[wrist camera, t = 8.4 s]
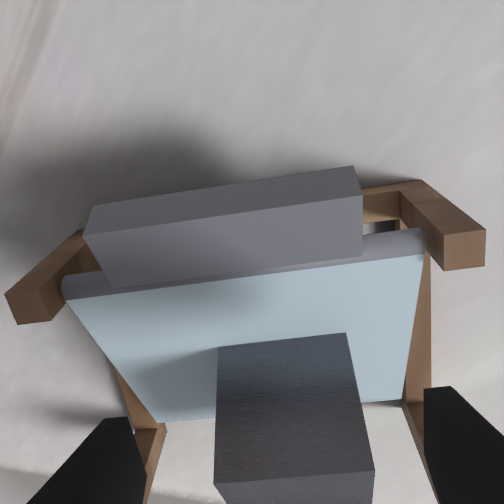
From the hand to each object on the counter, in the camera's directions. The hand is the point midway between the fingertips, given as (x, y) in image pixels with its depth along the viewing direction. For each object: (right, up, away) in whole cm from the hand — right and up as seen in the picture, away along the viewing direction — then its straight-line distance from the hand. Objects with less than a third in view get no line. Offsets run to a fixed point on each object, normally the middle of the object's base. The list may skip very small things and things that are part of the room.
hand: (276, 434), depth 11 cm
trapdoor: (0, +2, +7) cm, 7 cm away
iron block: (+1, -1, +8) cm, 8 cm away
